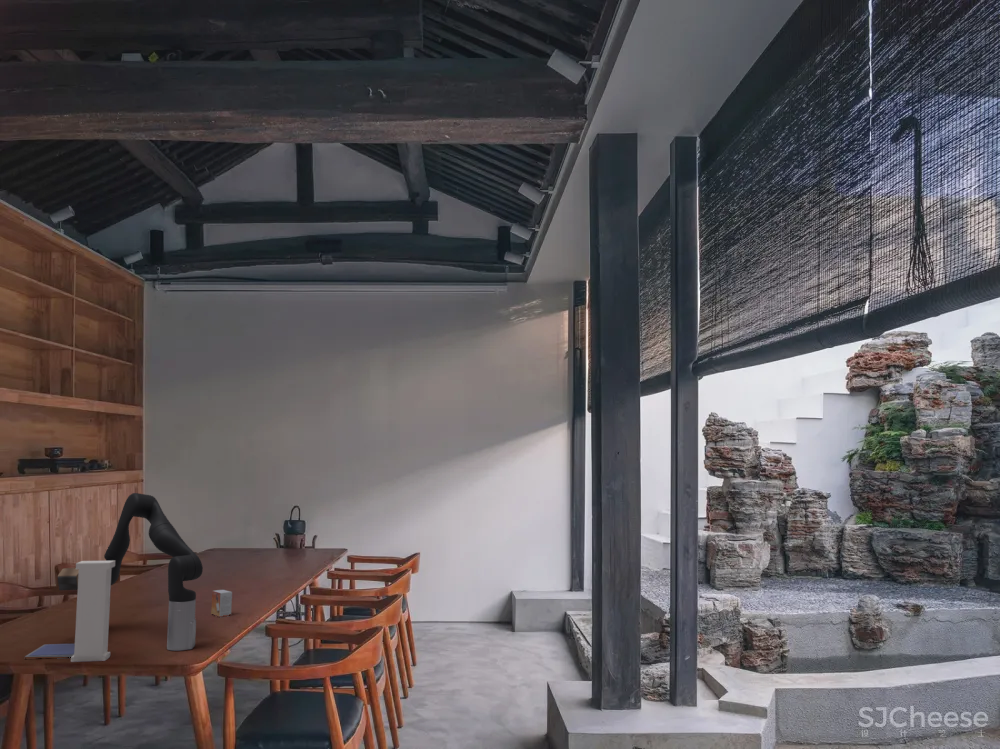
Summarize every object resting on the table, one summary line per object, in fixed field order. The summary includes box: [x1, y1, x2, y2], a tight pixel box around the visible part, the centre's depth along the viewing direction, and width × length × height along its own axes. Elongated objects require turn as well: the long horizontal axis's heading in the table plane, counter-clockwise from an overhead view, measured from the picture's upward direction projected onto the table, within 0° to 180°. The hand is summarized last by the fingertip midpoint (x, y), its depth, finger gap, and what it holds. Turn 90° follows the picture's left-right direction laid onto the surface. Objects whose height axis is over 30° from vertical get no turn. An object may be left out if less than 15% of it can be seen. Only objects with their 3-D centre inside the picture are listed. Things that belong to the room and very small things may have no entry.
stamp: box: [57, 566, 79, 591], centre depth 302 cm, size 6×15×6 cm, turn 7°
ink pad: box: [24, 643, 75, 659], centre depth 295 cm, size 16×18×1 cm
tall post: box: [70, 560, 115, 663], centre depth 288 cm, size 11×6×33 cm, turn 100°
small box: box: [210, 589, 233, 617], centre depth 363 cm, size 8×6×10 cm
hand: (73, 575), depth 300 cm, fingers closed on stamp, 2 cm apart
